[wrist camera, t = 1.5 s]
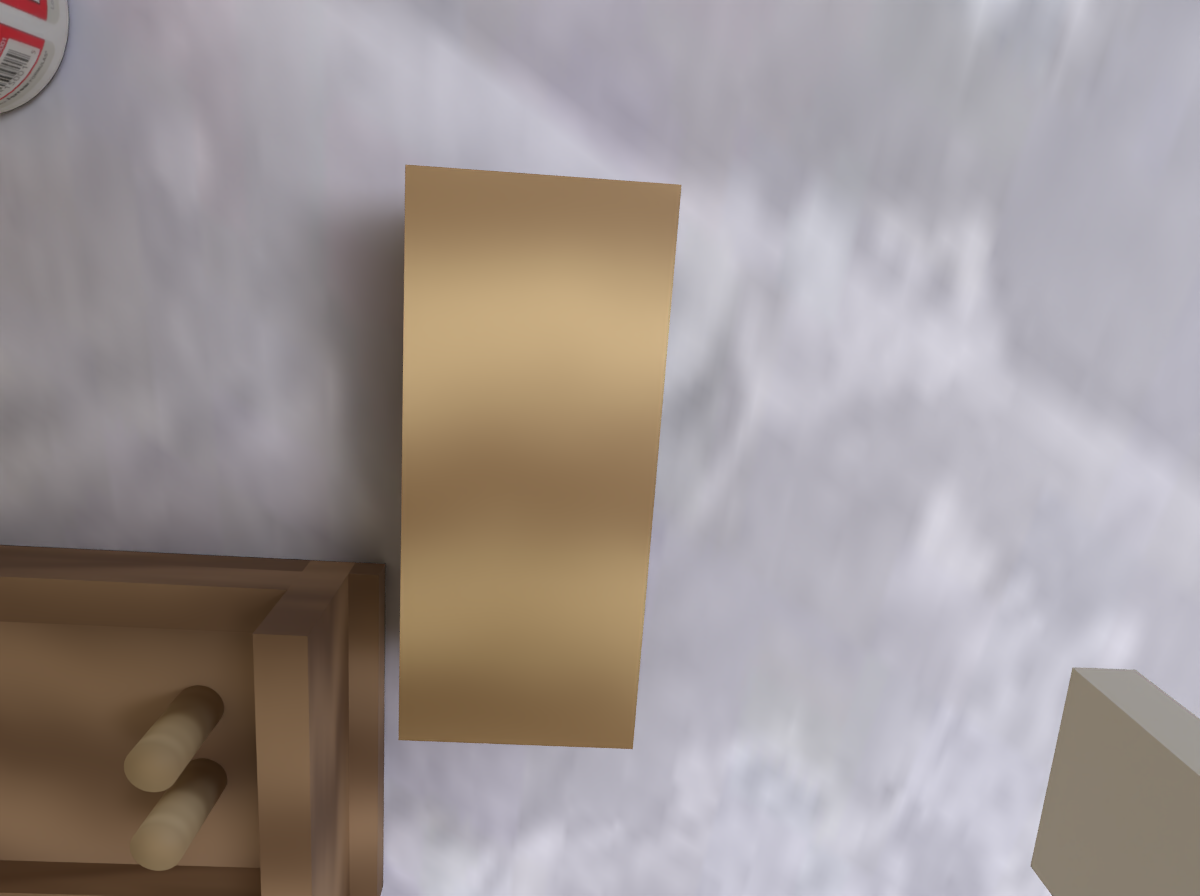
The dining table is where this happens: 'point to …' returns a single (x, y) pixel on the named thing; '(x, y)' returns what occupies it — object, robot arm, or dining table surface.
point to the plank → (529, 451)
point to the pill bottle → (30, 47)
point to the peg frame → (190, 725)
